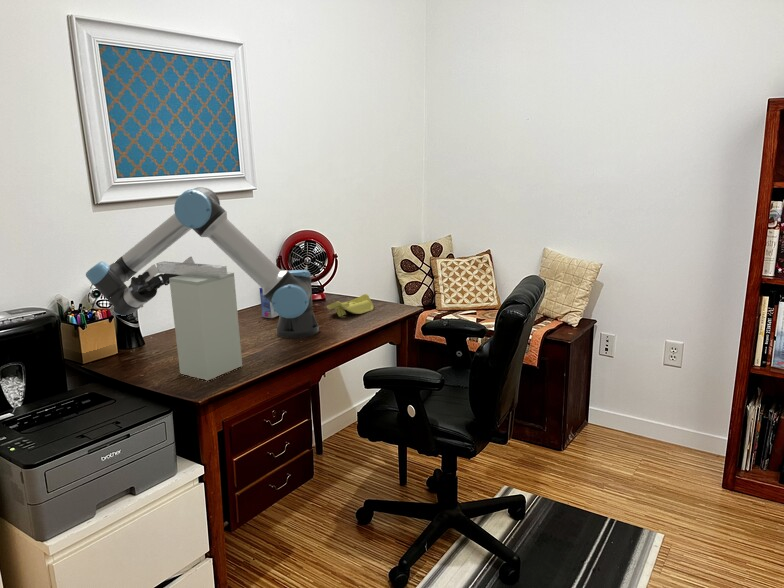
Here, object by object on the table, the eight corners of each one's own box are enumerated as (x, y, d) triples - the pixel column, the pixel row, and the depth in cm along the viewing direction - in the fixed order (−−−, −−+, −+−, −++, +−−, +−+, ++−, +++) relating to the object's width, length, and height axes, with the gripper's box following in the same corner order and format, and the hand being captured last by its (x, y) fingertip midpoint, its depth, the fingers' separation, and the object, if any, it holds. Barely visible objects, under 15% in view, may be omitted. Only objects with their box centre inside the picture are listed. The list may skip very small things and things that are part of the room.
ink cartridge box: (277, 311, 257) (275, 276, 254) (287, 312, 255) (285, 278, 251) (261, 317, 249) (258, 281, 246) (271, 318, 246) (268, 283, 243)
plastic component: (351, 300, 262) (369, 292, 257) (357, 316, 262) (375, 309, 256) (321, 308, 246) (339, 299, 240) (328, 325, 245) (346, 317, 240)
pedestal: (180, 374, 189) (169, 278, 182) (215, 360, 201) (206, 269, 194) (207, 381, 183) (197, 282, 176) (242, 366, 195) (233, 272, 187)
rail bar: (157, 272, 190) (156, 263, 189) (164, 270, 193) (163, 261, 192) (220, 277, 181) (219, 267, 180) (227, 275, 183) (226, 265, 182)
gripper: (177, 293, 212) (211, 267, 200) (111, 311, 192) (144, 283, 180) (167, 274, 213) (201, 246, 200) (100, 289, 192) (133, 260, 180)
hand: (174, 264), depth 190 cm, fingers open, 13 cm apart
